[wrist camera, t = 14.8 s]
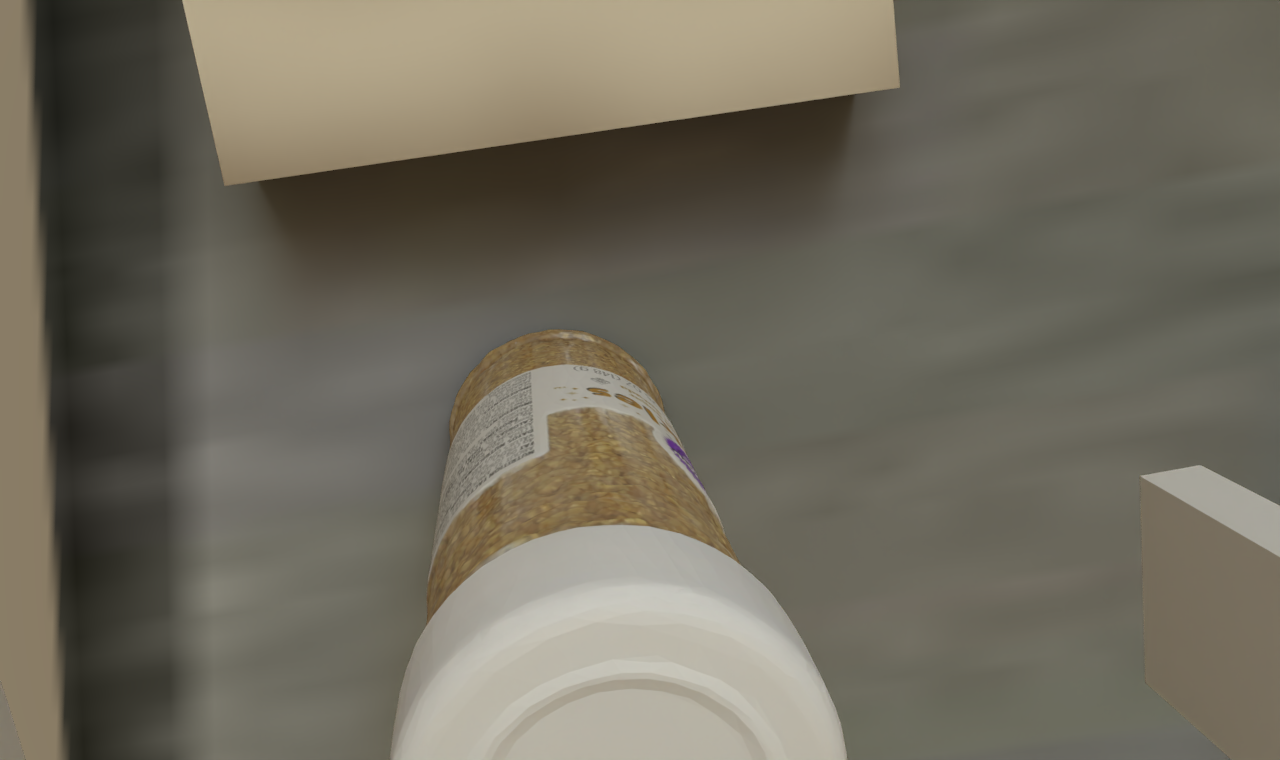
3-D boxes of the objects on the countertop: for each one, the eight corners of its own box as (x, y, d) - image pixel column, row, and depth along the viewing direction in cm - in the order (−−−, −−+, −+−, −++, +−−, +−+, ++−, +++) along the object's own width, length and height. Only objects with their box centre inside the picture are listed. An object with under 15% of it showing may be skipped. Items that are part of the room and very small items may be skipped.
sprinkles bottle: (706, 426, 24) (954, 800, 11) (555, 573, 24) (624, 1104, 11) (554, 276, 23) (630, 495, 10) (397, 432, 23) (272, 842, 10)
